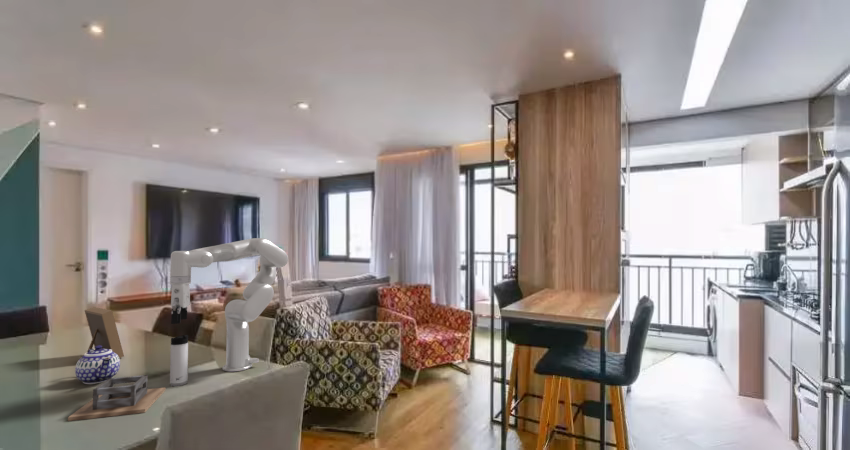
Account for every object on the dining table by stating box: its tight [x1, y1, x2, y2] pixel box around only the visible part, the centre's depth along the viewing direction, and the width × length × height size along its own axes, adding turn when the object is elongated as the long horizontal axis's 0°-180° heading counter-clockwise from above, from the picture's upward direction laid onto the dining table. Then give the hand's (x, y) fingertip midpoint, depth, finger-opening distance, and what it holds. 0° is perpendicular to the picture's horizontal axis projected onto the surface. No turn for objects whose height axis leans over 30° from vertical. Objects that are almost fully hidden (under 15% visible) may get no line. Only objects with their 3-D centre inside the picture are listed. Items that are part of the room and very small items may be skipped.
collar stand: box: [67, 374, 167, 422], centre depth 148 cm, size 22×22×8 cm
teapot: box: [74, 345, 121, 385], centre depth 175 cm, size 25×15×15 cm, turn 51°
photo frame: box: [84, 306, 125, 359], centre depth 208 cm, size 15×22×25 cm
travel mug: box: [169, 334, 189, 387], centre depth 170 cm, size 6×7×20 cm
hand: (179, 321), depth 170 cm, fingers open, 9 cm apart
